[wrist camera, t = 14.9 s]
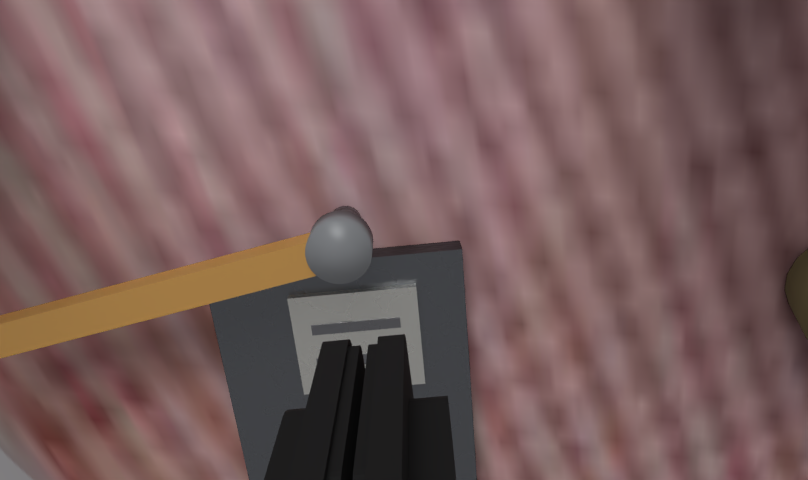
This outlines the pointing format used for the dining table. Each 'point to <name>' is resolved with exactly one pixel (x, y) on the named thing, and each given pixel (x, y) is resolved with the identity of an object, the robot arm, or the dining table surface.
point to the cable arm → (196, 285)
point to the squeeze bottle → (799, 290)
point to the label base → (361, 323)
